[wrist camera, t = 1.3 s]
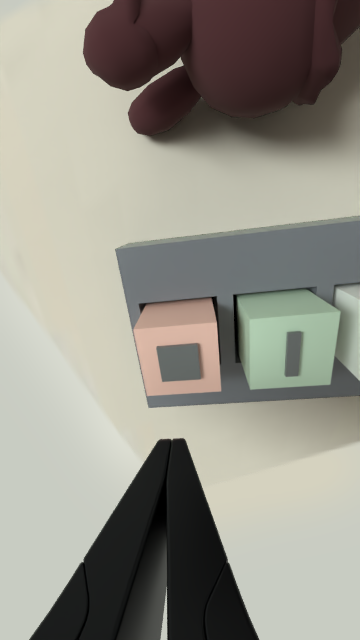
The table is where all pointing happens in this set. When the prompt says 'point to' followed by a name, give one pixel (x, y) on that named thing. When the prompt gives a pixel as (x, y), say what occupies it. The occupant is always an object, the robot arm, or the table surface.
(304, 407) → the table surface
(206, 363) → the key coral
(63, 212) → the table surface
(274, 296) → the key sage
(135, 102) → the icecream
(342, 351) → the key ivory
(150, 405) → the keypad
